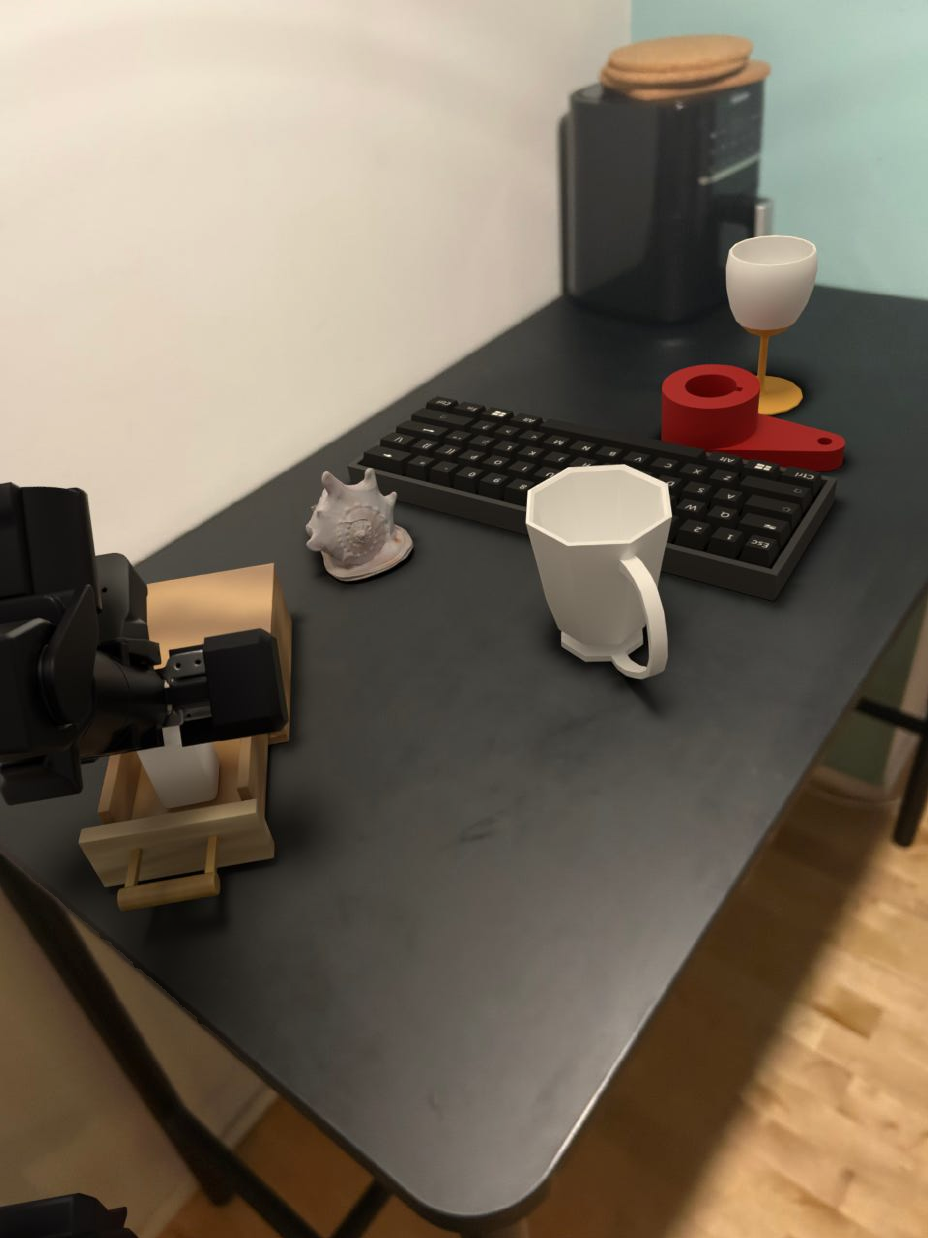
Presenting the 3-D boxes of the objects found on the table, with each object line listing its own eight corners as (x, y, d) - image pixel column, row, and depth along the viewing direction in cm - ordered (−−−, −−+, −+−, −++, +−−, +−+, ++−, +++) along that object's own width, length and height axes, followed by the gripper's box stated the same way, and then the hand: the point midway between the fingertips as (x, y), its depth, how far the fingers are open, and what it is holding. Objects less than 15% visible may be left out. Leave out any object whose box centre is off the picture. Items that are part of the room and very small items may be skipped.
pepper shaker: (167, 771, 70) (123, 675, 64) (222, 760, 70) (183, 663, 64) (162, 813, 67) (115, 716, 61) (219, 802, 67) (178, 704, 61)
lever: (648, 460, 99) (649, 401, 94) (678, 416, 105) (679, 359, 100) (831, 489, 91) (840, 426, 87) (851, 440, 97) (861, 379, 93)
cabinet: (289, 741, 74) (268, 679, 69) (125, 769, 73) (94, 708, 69) (292, 622, 85) (274, 562, 81) (150, 646, 85) (125, 587, 80)
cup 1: (635, 577, 84) (634, 448, 76) (727, 696, 72) (739, 557, 64) (513, 613, 82) (500, 484, 74) (588, 741, 70) (581, 603, 62)
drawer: (272, 913, 61) (252, 868, 58) (93, 945, 61) (64, 901, 58) (279, 716, 75) (264, 671, 72) (133, 741, 74) (111, 697, 71)
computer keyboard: (833, 502, 89) (839, 467, 87) (774, 601, 80) (778, 564, 77) (436, 418, 111) (431, 387, 108) (352, 487, 101) (344, 455, 99)
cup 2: (700, 392, 108) (707, 248, 98) (766, 370, 110) (779, 227, 100) (751, 424, 102) (764, 274, 91) (820, 399, 104) (840, 250, 94)
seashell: (337, 600, 87) (315, 514, 81) (278, 545, 95) (253, 462, 89) (430, 553, 90) (415, 467, 84) (365, 503, 98) (347, 422, 92)
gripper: (231, 521, 51) (285, 569, 66) (-122, 580, 50) (15, 614, 66) (262, 730, 50) (309, 729, 65) (-99, 792, 49) (35, 776, 65)
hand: (166, 707), depth 65 cm, fingers closed on pepper shaker, 4 cm apart
